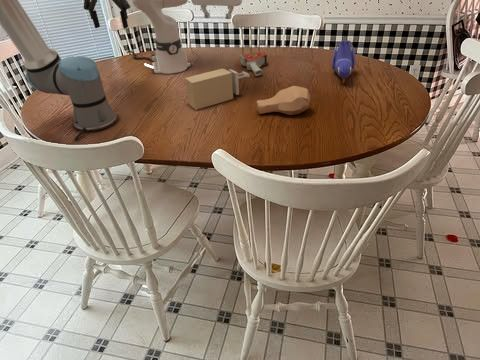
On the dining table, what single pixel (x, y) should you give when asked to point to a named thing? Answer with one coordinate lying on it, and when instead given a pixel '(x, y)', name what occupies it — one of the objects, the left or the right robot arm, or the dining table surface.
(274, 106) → the squash
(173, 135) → the dining table surface
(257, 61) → the grey and red gadget
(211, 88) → the beige rectangular block
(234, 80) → the drawer
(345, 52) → the toy
